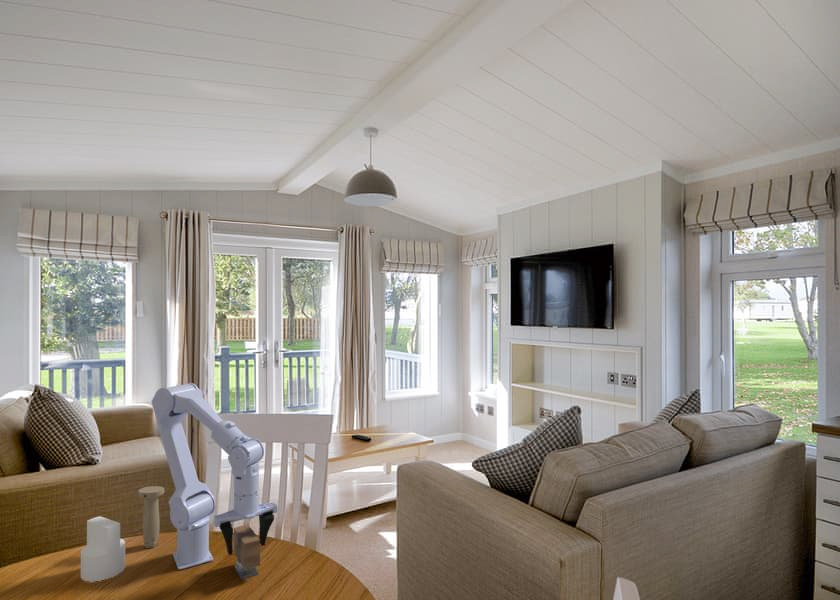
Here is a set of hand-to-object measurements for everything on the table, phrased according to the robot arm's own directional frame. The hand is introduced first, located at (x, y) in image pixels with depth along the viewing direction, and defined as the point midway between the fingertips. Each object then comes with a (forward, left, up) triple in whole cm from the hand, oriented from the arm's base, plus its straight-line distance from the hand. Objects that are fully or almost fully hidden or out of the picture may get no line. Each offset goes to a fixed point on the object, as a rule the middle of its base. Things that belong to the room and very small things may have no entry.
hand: (246, 548), depth 119 cm
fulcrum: (0, 0, -5) cm, 5 cm away
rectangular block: (0, 0, -2) cm, 2 cm away
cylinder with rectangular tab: (-19, -28, -6) cm, 35 cm away
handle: (-27, -17, -6) cm, 33 cm away
